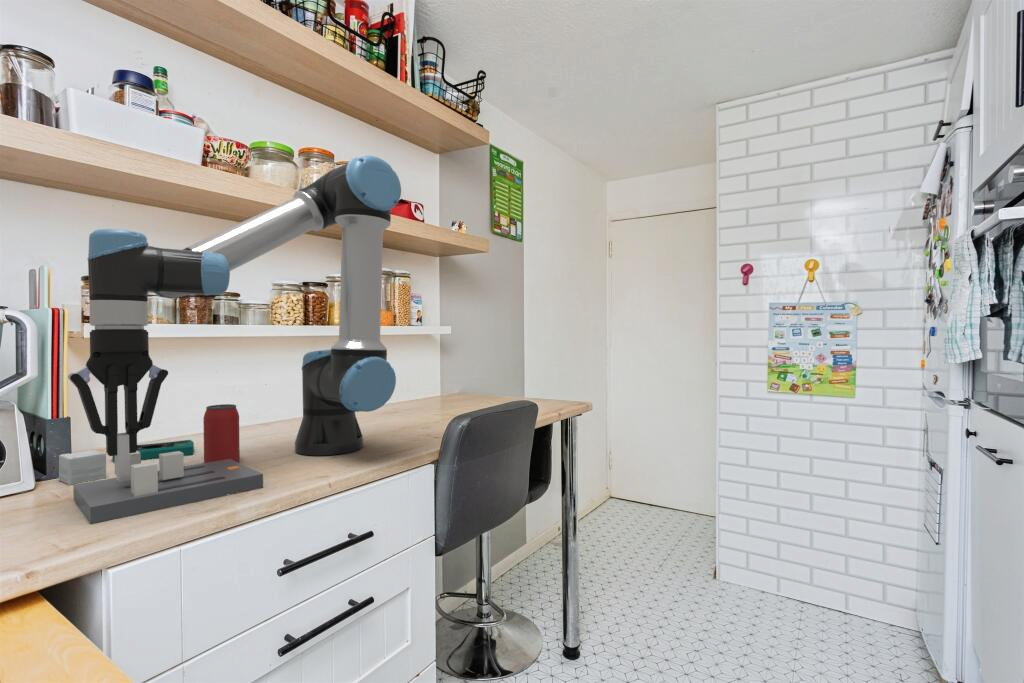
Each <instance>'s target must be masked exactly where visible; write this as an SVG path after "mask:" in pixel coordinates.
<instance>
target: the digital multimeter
mask: <svg viewBox="0 0 1024 683" xmlns="http://www.w3.org/2000/svg"><path fill="white" fill-rule="evenodd" d="M194 448H195V443H194V441H193V440H192V439H183V440H178V441H177V440H176V441H166V442H165V441H164V442H157V443H145V444H137V451H138V452H140V453H141V461H146V460H148V461H149V460H157V459H158V460H159V454H162V453H169V452H176V451H180V452H182V453H183V457H185V456H187V457H188V456H193V454H194V452H195V449H194ZM111 457H112V462H113V463H114V464H115V456H111Z"/></svg>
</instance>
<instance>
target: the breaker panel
mask: <svg viewBox="0 0 1024 683" xmlns="http://www.w3.org/2000/svg"><path fill="white" fill-rule="evenodd" d="M129 455H130V475H127V476H121V477H118V476H117V475H116V474H115V475H116V476H115V477H114V478H113V477H112V478H105V479H99V480H94V481H89V482H84V483H79V484H74V485H72V487H73V488H72V489H73V492H72V494H73V501H74V502H75V504H76V506H77V507H78V508H79V509H80V511H81V512H82V513H84V514H83V516H84V517H85V516H86V517H85V518H86V519H87V521H88V522H89V524H90V525H92V524H97V523H101V522H105V521H106V522H107V521H111V520H116V519H120V518H125V517H129V516H130V517H131V516H135V515H139V514H144V513H149V512H153V511H158V510H163V509H167V508H172V507H176V506H182V505H185V504H186V505H187V504H191V503H192V504H193V503H196V502H200V501H201V502H202V501H205V500H211V499H215V498H219V497H218V496H220V497H224V496H223V495H225V496H228V495H227V494H230V495H233V494H232V493H234V494H238V493H237V492H239V493H242V492H243V491H244V492H248V491H252V489H253V490H257V488H258V489H261V488H264V474H263V473H262V472H260V471H258V470H256V469H253V468H251V467H249V466H247V465H244V464H243V463H240V462H238V461H237V462H236V461H234V460H232V459H226V460H220V461H214V462H208V463H204V462H203V463H197V464H191V465H187V466H185V465H184V476H183V477H178V478H172V479H166V480H162V479H161V478H160V477H159V467H158V463H157V462H155V461H148V462H141V461H142V460H141V453H140V452H138V451H136V453H129ZM247 490H248V491H247ZM214 497H215V498H214ZM210 498H211V499H210Z"/></svg>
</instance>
